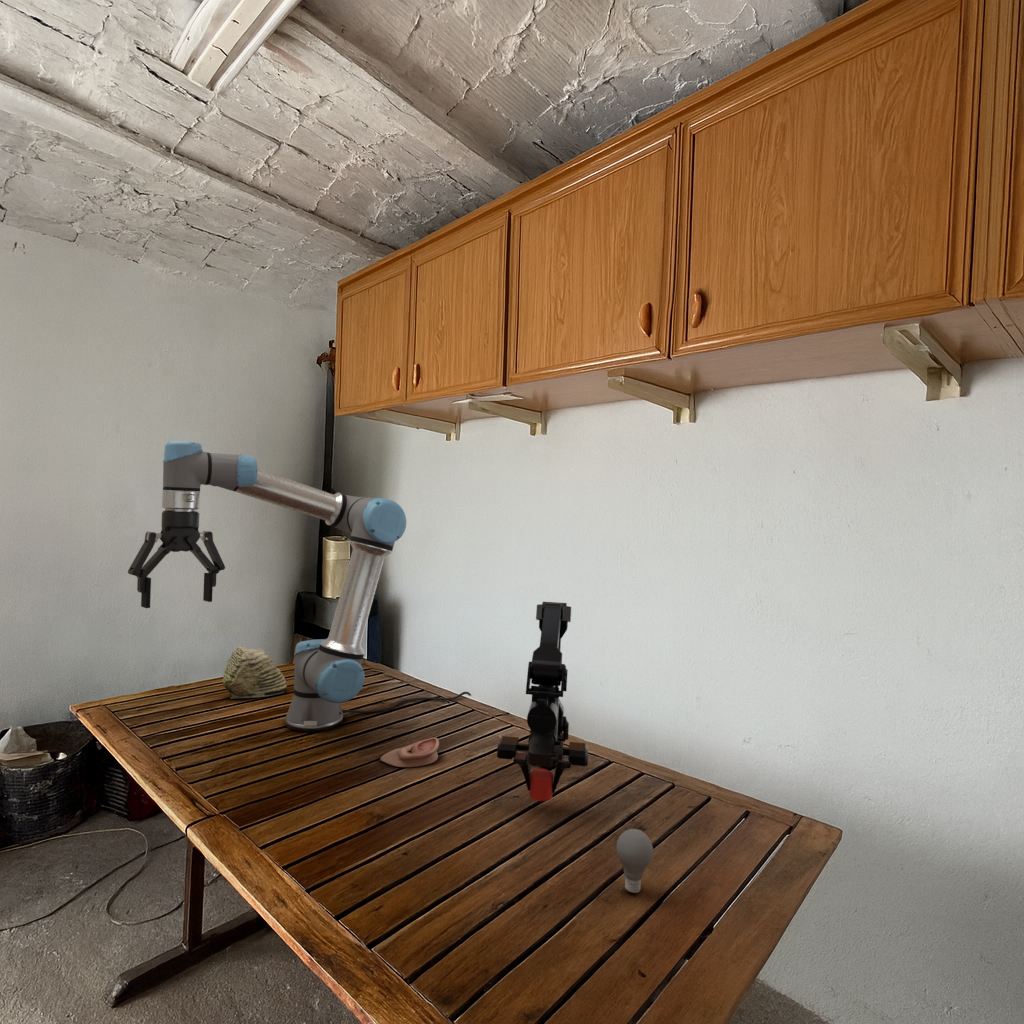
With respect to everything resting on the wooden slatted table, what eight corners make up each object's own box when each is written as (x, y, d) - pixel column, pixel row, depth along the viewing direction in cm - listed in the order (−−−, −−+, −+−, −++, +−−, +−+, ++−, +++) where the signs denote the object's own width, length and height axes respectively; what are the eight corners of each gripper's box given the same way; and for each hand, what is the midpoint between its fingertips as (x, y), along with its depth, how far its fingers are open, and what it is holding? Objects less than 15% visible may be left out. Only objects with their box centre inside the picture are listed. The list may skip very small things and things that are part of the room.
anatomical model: (375, 747, 151) (394, 730, 162) (374, 764, 151) (393, 746, 162) (428, 754, 148) (443, 736, 159) (427, 771, 148) (443, 752, 159)
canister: (554, 801, 131) (555, 778, 131) (531, 801, 130) (532, 778, 130) (549, 790, 135) (550, 768, 135) (528, 791, 135) (529, 769, 135)
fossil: (218, 695, 195) (220, 647, 195) (278, 685, 208) (279, 640, 207) (228, 703, 189) (230, 653, 188) (289, 692, 201) (290, 645, 201)
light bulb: (610, 879, 108) (613, 822, 108) (644, 879, 109) (647, 822, 109) (619, 902, 102) (622, 840, 102) (655, 901, 103) (658, 840, 103)
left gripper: (127, 510, 130) (124, 612, 131) (242, 511, 150) (239, 600, 151) (112, 508, 135) (109, 607, 135) (226, 510, 155) (223, 596, 155)
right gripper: (494, 727, 126) (491, 804, 126) (589, 735, 123) (585, 814, 124) (502, 708, 137) (499, 780, 137) (589, 716, 134) (585, 788, 135)
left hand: (177, 604), depth 143 cm, fingers open, 13 cm apart
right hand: (541, 791), depth 133 cm, fingers closed on canister, 5 cm apart
